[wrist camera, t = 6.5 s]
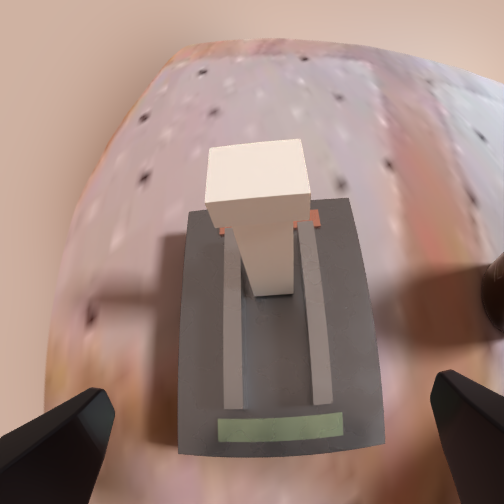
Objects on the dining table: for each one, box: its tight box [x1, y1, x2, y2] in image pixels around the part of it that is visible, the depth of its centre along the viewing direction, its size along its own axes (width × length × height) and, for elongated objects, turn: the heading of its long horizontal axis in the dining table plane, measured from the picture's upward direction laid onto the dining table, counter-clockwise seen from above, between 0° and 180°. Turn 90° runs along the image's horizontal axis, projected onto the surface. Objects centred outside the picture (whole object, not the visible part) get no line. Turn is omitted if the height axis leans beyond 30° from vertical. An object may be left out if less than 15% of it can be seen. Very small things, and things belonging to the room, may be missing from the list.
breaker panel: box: [178, 198, 385, 458], centre depth 19 cm, size 17×12×5 cm
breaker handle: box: [205, 139, 311, 296], centre depth 15 cm, size 3×4×10 cm
